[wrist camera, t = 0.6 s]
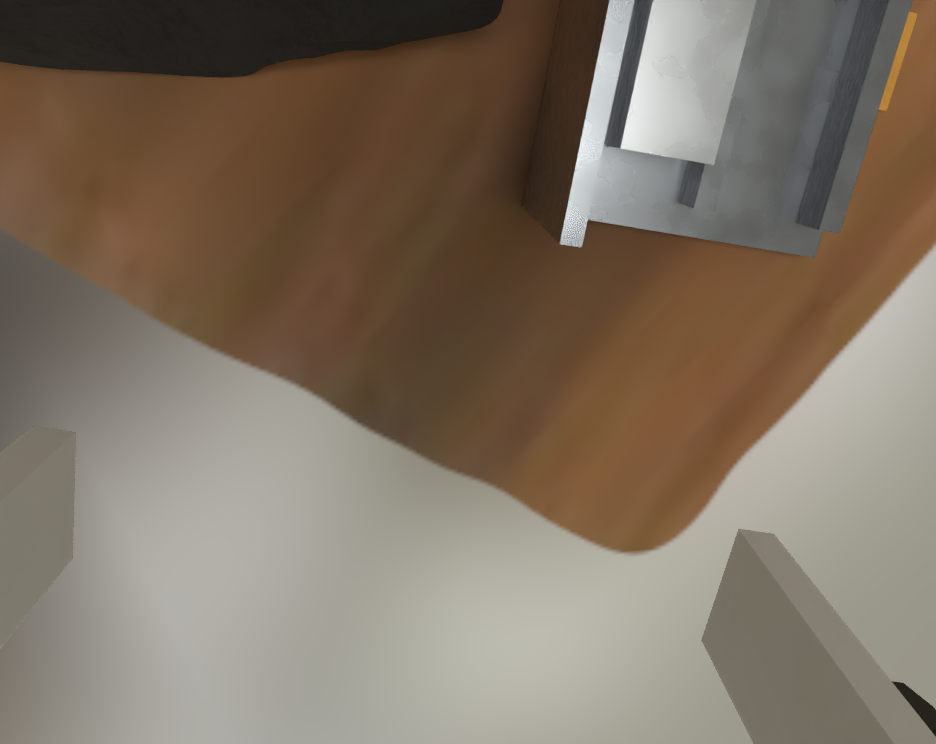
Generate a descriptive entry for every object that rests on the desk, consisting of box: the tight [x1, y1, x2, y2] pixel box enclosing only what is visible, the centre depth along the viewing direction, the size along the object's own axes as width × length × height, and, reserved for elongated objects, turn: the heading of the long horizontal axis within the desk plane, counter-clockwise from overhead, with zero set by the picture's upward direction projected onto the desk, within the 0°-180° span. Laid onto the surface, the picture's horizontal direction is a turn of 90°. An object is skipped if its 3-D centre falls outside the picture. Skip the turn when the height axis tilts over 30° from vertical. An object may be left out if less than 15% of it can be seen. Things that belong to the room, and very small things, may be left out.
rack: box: [522, 0, 917, 258], centre depth 31 cm, size 18×15×12 cm
